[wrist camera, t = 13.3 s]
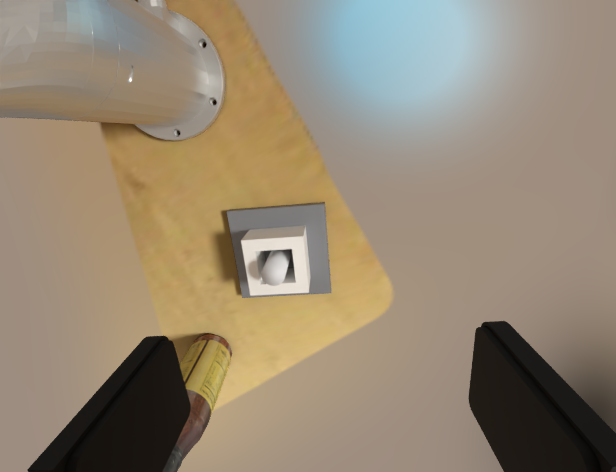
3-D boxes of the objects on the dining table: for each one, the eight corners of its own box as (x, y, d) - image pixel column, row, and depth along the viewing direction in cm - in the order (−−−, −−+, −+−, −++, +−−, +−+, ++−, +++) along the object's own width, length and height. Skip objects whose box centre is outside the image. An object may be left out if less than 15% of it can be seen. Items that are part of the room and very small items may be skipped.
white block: (249, 229, 37) (240, 240, 33) (305, 225, 36) (303, 236, 33) (257, 280, 39) (250, 295, 35) (310, 277, 39) (308, 292, 35)
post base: (229, 209, 37) (208, 225, 31) (324, 202, 36) (324, 217, 30) (244, 294, 41) (228, 324, 34) (331, 289, 40) (332, 319, 33)
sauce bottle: (194, 363, 45) (102, 524, 27) (192, 329, 43) (91, 477, 25) (236, 368, 45) (173, 533, 27) (236, 333, 43) (168, 486, 25)
